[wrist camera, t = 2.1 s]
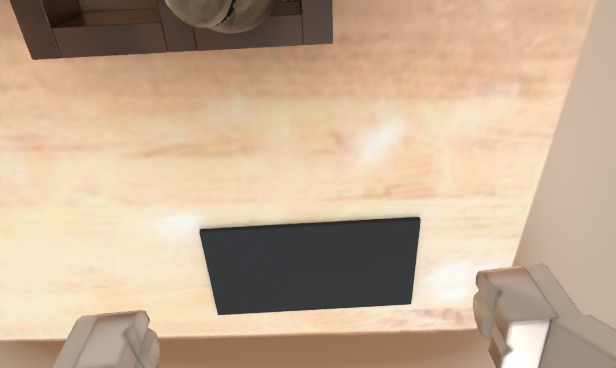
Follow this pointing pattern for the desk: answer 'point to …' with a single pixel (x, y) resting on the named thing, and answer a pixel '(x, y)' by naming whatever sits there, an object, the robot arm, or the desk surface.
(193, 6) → the light bulb
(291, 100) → the desk surface
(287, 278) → the mat
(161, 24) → the stand
